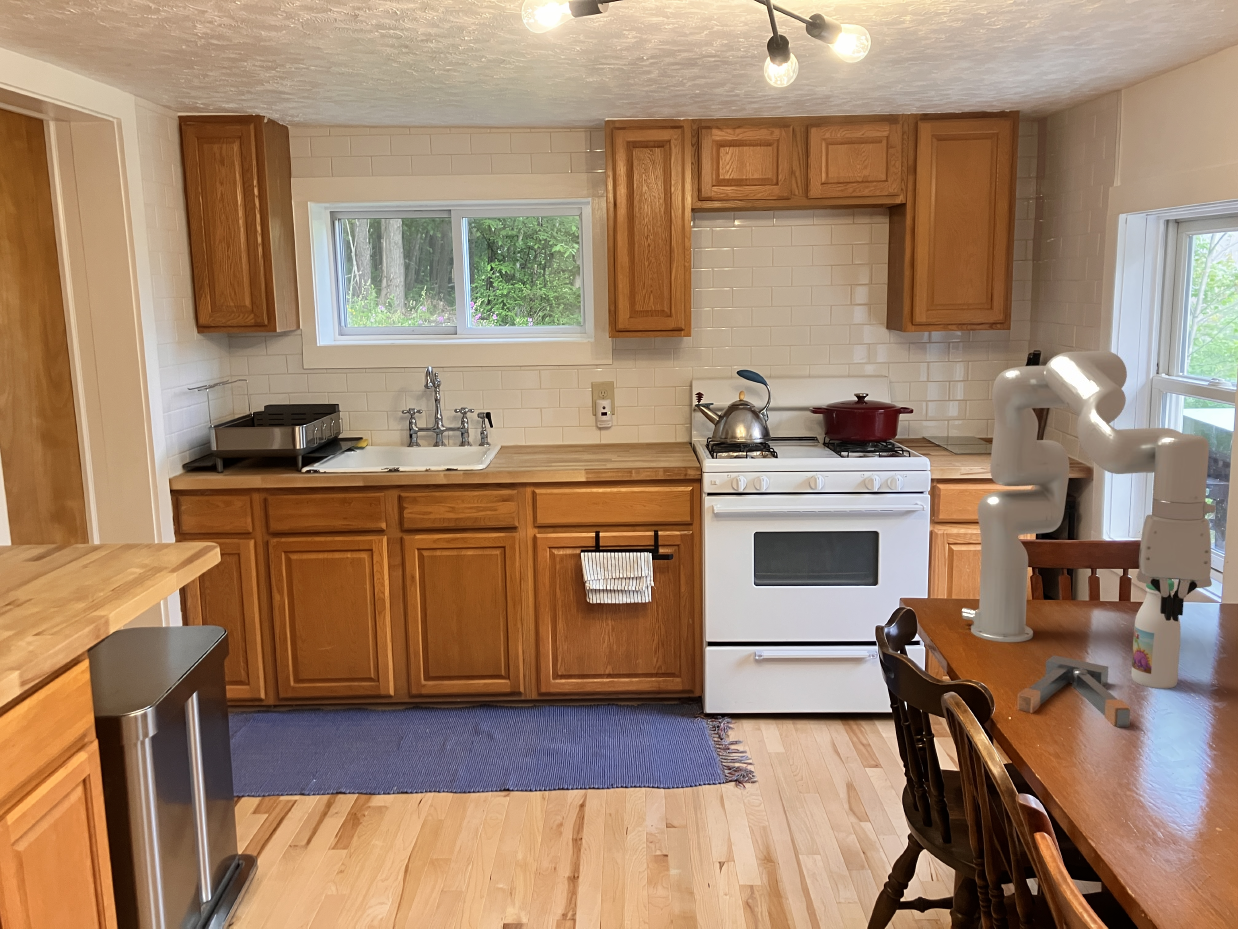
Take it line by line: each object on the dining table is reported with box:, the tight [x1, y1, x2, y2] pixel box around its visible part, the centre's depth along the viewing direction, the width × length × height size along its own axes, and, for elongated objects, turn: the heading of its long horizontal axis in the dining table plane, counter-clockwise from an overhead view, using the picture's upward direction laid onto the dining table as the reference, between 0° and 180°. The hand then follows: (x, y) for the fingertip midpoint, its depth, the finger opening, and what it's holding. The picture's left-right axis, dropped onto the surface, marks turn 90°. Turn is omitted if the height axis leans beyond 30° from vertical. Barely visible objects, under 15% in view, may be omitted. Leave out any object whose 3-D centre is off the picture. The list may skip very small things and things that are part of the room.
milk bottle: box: [1131, 578, 1181, 690], centre depth 188 cm, size 8×8×20 cm
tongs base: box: [1016, 654, 1109, 714], centre depth 183 cm, size 10×23×4 cm, turn 137°
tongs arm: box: [1072, 669, 1132, 728], centre depth 178 cm, size 19×3×3 cm, turn 177°
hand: (1171, 618), depth 166 cm, fingers closed
